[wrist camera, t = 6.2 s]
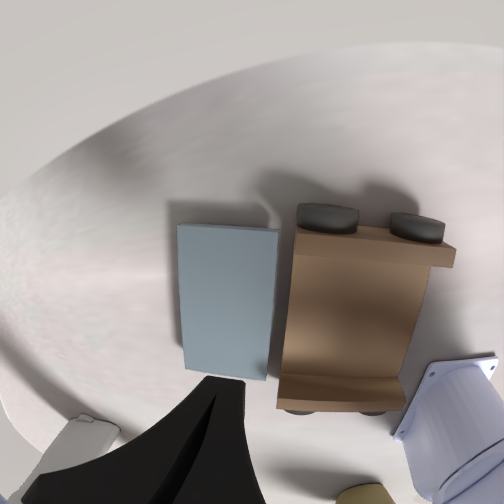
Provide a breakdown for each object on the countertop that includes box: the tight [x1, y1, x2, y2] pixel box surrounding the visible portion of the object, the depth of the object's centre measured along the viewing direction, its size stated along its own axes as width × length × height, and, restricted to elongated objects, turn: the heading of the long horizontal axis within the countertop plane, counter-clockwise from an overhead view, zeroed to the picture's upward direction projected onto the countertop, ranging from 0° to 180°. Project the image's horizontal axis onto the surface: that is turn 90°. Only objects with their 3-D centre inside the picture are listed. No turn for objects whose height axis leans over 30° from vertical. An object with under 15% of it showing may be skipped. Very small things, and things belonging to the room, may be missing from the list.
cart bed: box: [276, 204, 456, 416], centre depth 16 cm, size 13×8×4 cm, turn 177°
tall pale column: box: [7, 414, 121, 504], centre depth 16 cm, size 11×4×22 cm, turn 111°
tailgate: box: [177, 223, 279, 381], centre depth 18 cm, size 10×1×6 cm
